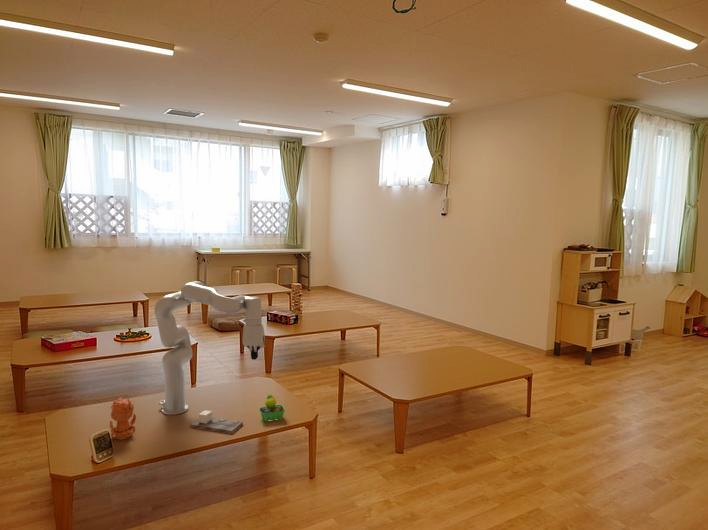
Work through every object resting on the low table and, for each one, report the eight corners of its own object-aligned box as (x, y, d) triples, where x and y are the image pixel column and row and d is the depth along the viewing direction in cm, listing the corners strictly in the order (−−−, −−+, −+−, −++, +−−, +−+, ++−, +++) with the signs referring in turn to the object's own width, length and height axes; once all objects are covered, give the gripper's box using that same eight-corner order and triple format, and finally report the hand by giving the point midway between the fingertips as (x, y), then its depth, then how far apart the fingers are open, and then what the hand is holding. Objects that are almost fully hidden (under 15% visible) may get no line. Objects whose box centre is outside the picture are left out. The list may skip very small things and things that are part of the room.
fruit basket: (262, 423, 228) (262, 401, 227) (258, 416, 236) (258, 394, 235) (285, 420, 232) (285, 398, 231) (281, 413, 240) (281, 391, 239)
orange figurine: (129, 428, 220) (128, 391, 218) (140, 435, 213) (139, 397, 211) (104, 437, 211) (103, 398, 209) (115, 444, 204) (114, 404, 203)
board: (190, 427, 222) (190, 423, 222) (202, 418, 232) (202, 415, 232) (232, 433, 217) (232, 430, 216) (242, 424, 226) (242, 421, 226)
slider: (198, 422, 224) (198, 414, 223) (204, 418, 229) (204, 410, 228) (206, 423, 223) (206, 415, 222) (212, 419, 228) (211, 411, 227)
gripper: (236, 322, 228) (236, 359, 230) (264, 324, 224) (265, 362, 226) (243, 319, 235) (244, 355, 237) (271, 321, 231) (271, 357, 233)
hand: (254, 358), depth 232 cm, fingers closed
